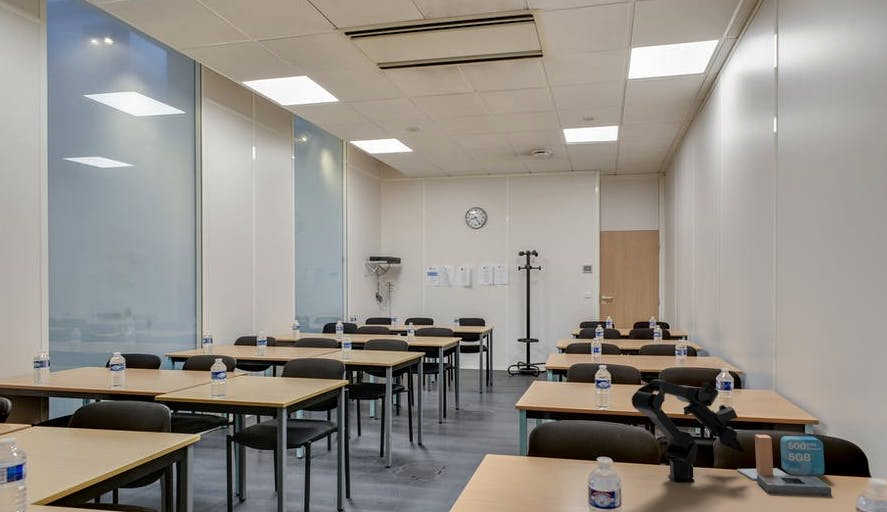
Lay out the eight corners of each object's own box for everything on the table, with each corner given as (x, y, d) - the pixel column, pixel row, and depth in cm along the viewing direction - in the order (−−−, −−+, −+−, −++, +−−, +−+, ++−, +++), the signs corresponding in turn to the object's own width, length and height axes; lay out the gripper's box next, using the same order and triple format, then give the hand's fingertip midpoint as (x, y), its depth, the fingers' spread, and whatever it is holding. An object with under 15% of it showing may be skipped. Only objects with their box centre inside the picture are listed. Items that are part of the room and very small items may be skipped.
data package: (786, 474, 200) (785, 439, 201) (781, 470, 205) (779, 435, 205) (825, 475, 198) (823, 440, 199) (818, 471, 203) (816, 436, 203)
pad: (752, 480, 195) (752, 478, 195) (737, 470, 205) (737, 469, 205) (793, 479, 195) (793, 477, 195) (776, 469, 205) (776, 468, 205)
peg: (760, 474, 199) (758, 437, 199) (756, 471, 202) (754, 434, 203) (773, 475, 198) (771, 437, 199) (768, 471, 202) (767, 434, 202)
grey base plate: (768, 493, 183) (767, 484, 183) (757, 482, 193) (756, 474, 193) (831, 495, 180) (831, 487, 180) (817, 484, 189) (816, 476, 190)
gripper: (728, 404, 195) (766, 439, 192) (714, 394, 213) (748, 425, 210) (704, 427, 196) (741, 462, 193) (692, 415, 214) (725, 447, 211)
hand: (739, 448), depth 202 cm, fingers open, 9 cm apart
